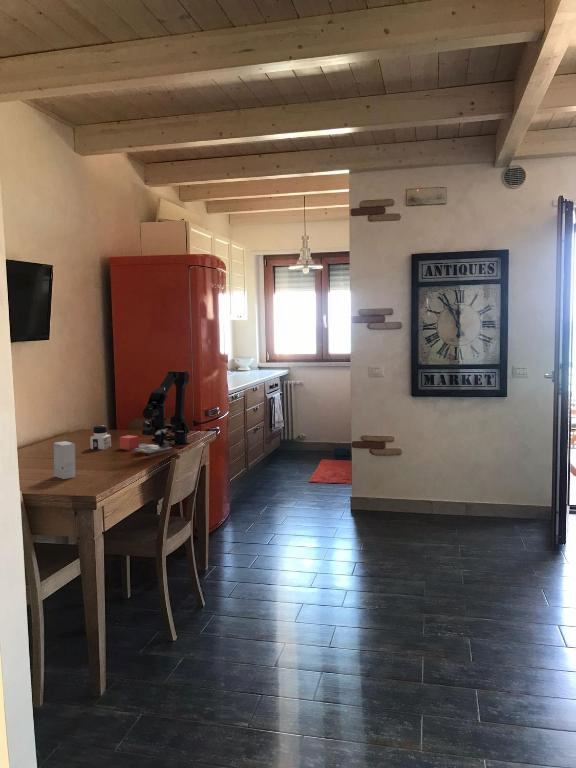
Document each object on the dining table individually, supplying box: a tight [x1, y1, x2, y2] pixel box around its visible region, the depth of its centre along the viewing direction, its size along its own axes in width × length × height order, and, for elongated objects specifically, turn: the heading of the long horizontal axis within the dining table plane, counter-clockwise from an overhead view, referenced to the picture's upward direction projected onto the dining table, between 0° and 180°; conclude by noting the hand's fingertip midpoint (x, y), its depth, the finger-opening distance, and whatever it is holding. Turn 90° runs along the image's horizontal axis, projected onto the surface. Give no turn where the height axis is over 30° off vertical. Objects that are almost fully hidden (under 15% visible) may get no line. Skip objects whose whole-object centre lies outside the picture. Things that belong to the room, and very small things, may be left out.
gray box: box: [161, 440, 170, 448], centre depth 319 cm, size 3×4×3 cm
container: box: [89, 424, 112, 450], centre depth 322 cm, size 8×8×13 cm
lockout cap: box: [119, 434, 140, 451], centre depth 319 cm, size 6×7×6 cm
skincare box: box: [53, 440, 76, 480], centre depth 266 cm, size 8×6×15 cm
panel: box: [123, 443, 174, 457], centre depth 319 cm, size 16×22×2 cm
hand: (160, 446), depth 317 cm, fingers closed
